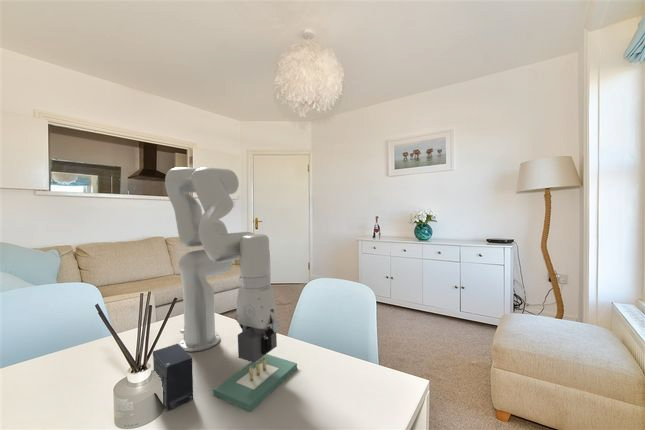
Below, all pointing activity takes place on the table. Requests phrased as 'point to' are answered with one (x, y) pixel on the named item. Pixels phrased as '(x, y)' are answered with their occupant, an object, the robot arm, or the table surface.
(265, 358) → the header pins
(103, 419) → the table surface
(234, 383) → the board
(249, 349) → the block
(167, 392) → the small box
